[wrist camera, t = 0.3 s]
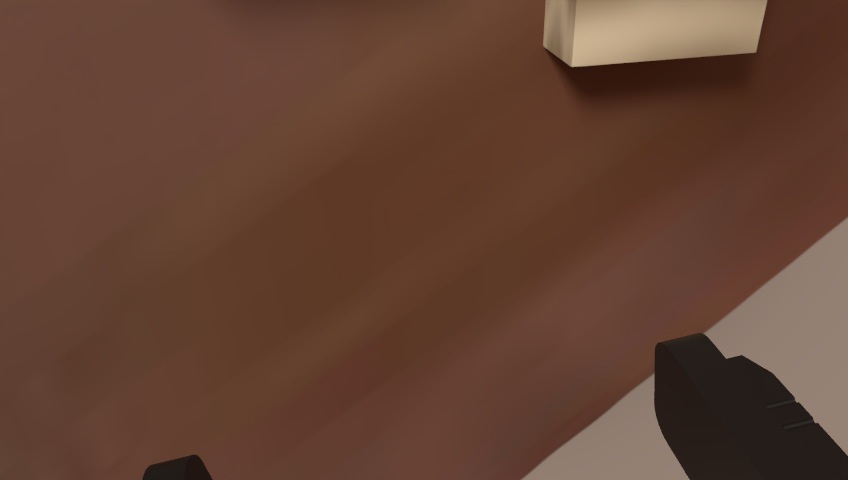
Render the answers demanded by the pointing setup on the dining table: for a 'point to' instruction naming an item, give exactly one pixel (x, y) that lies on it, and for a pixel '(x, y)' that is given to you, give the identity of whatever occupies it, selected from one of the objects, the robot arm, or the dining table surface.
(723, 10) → the maple block
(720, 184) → the dining table surface
